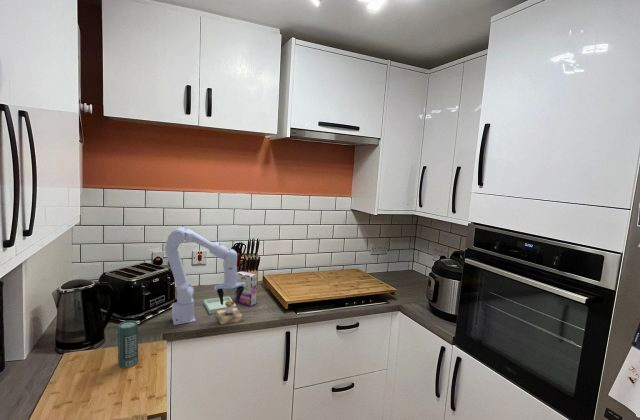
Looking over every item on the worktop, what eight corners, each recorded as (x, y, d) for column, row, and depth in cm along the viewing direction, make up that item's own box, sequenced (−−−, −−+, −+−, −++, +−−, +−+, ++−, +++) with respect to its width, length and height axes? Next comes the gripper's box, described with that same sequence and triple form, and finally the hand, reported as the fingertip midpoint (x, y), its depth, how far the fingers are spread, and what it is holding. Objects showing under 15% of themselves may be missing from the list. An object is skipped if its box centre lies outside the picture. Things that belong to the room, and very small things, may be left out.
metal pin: (226, 320, 163) (226, 305, 162) (223, 317, 166) (224, 301, 165) (234, 319, 165) (234, 303, 164) (232, 315, 168) (232, 300, 167)
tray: (209, 314, 168) (209, 309, 168) (204, 304, 179) (204, 299, 179) (236, 310, 175) (236, 305, 174) (229, 300, 186) (229, 296, 186)
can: (133, 356, 129) (133, 318, 128) (140, 363, 126) (140, 324, 124) (115, 362, 125) (115, 324, 123) (122, 370, 121) (122, 330, 119)
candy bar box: (256, 303, 185) (257, 274, 183) (250, 306, 180) (251, 276, 178) (240, 298, 190) (241, 270, 188) (234, 301, 185) (235, 272, 183)
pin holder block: (221, 324, 159) (221, 319, 159) (216, 315, 167) (216, 310, 167) (242, 320, 164) (242, 315, 164) (236, 312, 172) (236, 307, 172)
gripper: (217, 279, 156) (216, 308, 158) (247, 276, 163) (247, 303, 165) (213, 275, 162) (212, 302, 164) (243, 272, 169) (242, 298, 171)
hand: (229, 302), depth 165 cm, fingers open, 7 cm apart
